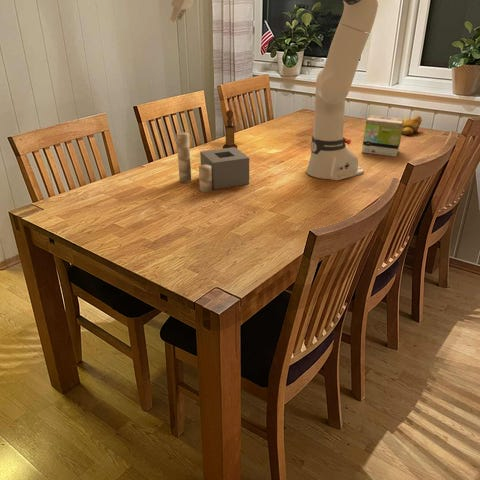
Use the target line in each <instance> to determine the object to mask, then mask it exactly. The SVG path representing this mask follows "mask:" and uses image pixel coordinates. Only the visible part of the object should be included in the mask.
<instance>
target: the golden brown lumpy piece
mask: <svg viewBox="0 0 480 480" xmlns="http://www.w3.org/2000/svg"><path fill="white" fill-rule="evenodd" d="M403 119H404V123H403V128H402V134H403V135H405V136H411V135H413V134H416V133H417V132H418V131H419V129H420V125H421V123H422V121H423V120H422V117H421V116H420V115H417V116H413V117H411V118H403Z"/></svg>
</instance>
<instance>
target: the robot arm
mask: <svg viewBox="0 0 480 480" xmlns="http://www.w3.org/2000/svg"><path fill="white" fill-rule="evenodd" d="M342 2H343V11H342V16H341V18H340V19H339V23H338V26H337V28H336V30H335V33H334V36H333V38H332V40H331V43H330V47H329V49H328V52H327V53H328V54H327V57H326V61H325V63H324V67H323V68H322V69H321V70H320V71H319V72H318V74H317V76H316V81H315V100H314V119H313V131H312V132H313V133H312V136H311V140H310V151H311V152H310V158H309V162H308V165H307V167H306V170H305V171H306V174H308V175H309V176H311V177H314V178H317V179H324V180H326V179H327V180H332V181H340V180H343V179H344V180H345V179H348V178H351V177H355V176H359V175H362V174H364V169H363V167H361V166H360V165H359V158H358V156H357V155H356V154H355V153H354V152H352V151H351V150H350V149H349V148H348V147H347V146H346V145H348V146H349V145H350V144H352V139H350V138H347V137H346V138H345V137H343V135H344V128H345V127H344V126H345V119H346V118H345V113H346V112H345V109H346V108H345V107H346V106H345V105H346V98H347V97H348V95H349V93H350V89H351V87H352V84H353V81H354V78H355V75H356V72H357V68H358V65H359V62H360V59H361V56H362V54H363V52H364V49H365V47H366V45H367V44H366V43H367V41H368V40H369V37H370V34H371V31H372V29H373V27H374V23H375V19H376V17H377V12H378V8H379V1H378V0H342ZM195 3H196V0H171V3H170V5H171V6H172V7H173V8H172V13H171V16H170V21H171V22H176V21H177V20H179V21H182V20H183V18H184V15H185V13H186V12H187V11H188V10H189V9H192V8H193V6H194V4H195Z"/></svg>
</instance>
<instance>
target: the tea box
mask: <svg viewBox="0 0 480 480" xmlns="http://www.w3.org/2000/svg"><path fill="white" fill-rule="evenodd" d="M404 119H405V118H401V117H391V116H382V115H371V114H369V116H368V117H367V119H366V122H365V127H364V132H363V133H364V135H363V141H362V148H361V153H362V154H363V153H364V154H365V153H366V154H372V155H373V154H374V155H379V156H388V157H393V158H394V157H397V154H398V152H399V149H400V144H401V140H402V139H401V137H402V134H403V133H402V128H403V123H404Z"/></svg>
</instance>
